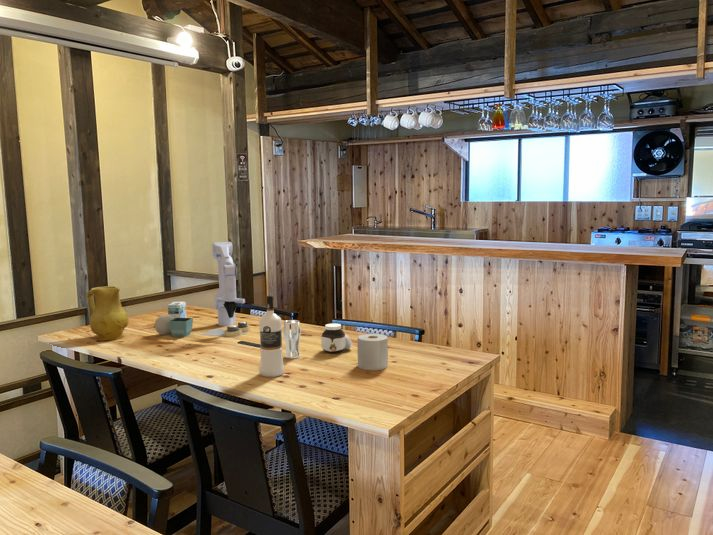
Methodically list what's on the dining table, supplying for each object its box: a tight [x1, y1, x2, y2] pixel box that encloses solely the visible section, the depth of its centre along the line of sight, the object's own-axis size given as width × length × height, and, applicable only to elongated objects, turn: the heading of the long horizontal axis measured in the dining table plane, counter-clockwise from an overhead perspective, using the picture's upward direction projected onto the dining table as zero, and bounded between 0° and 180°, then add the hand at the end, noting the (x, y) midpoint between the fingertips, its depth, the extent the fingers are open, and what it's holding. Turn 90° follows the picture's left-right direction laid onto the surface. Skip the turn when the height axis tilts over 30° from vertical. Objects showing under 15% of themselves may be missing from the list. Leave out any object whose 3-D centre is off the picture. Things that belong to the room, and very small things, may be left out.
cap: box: [226, 324, 238, 332], centre depth 276 cm, size 5×5×4 cm
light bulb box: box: [167, 301, 188, 318], centre depth 309 cm, size 11×7×11 cm, turn 179°
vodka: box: [258, 295, 285, 378], centre depth 215 cm, size 9×9×30 cm
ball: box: [154, 314, 174, 336], centre depth 281 cm, size 10×10×10 cm
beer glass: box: [283, 319, 301, 360], centre depth 240 cm, size 7×7×15 cm
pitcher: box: [86, 285, 130, 342], centre depth 277 cm, size 17×19×25 cm
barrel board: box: [200, 321, 251, 338], centre depth 281 cm, size 16×20×5 cm
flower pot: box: [169, 317, 194, 338], centre depth 275 cm, size 9×9×9 cm
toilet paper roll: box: [357, 333, 389, 371], centre depth 226 cm, size 12×12×12 cm
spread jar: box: [320, 323, 353, 355], centre depth 249 cm, size 12×11×12 cm
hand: (231, 317), depth 276 cm, fingers closed
